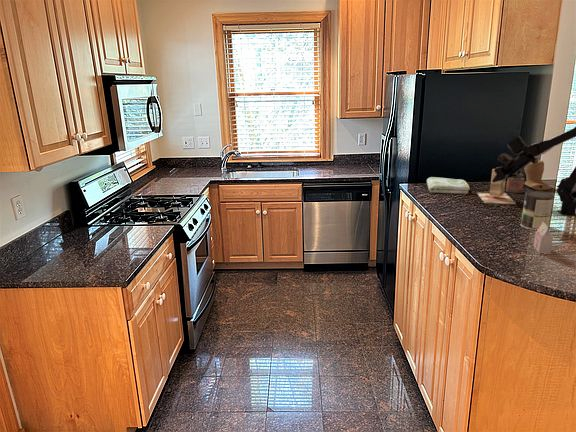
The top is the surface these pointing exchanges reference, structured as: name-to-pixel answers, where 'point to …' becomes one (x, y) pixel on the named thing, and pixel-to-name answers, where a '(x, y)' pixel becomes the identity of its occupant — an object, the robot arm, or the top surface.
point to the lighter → (515, 184)
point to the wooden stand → (535, 176)
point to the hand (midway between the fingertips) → (495, 180)
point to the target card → (496, 199)
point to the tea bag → (543, 239)
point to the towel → (447, 185)
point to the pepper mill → (497, 186)
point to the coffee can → (536, 209)
